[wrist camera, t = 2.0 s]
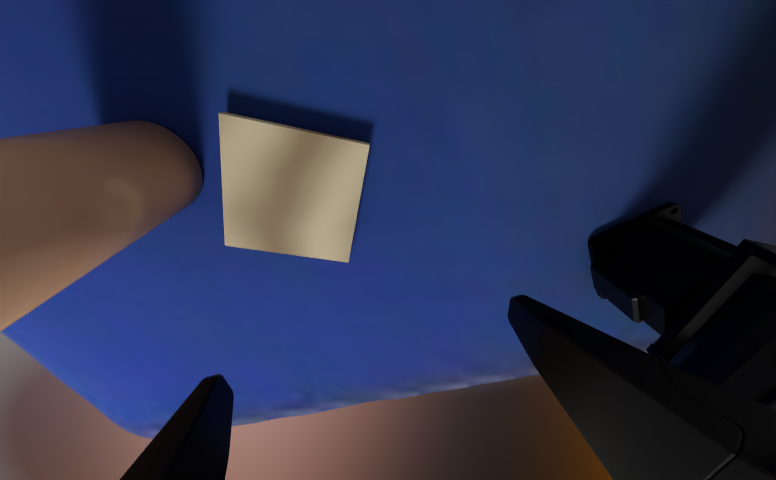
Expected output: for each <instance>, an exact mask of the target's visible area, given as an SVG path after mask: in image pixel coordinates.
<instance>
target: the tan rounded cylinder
mask: <svg viewBox="0 0 776 480" xmlns="http://www.w3.org/2000/svg"><path fill="white" fill-rule="evenodd" d="M202 183H203V177H202V171H201V167H200V164H199V162H198V160H197V158H196V156H195V154H194V153H193V151H192V150H191V149H190V148H189V146H188V145H187V144H186V143H185V142H184V141H183V140H182V139H181V138H179V137H178V136H177V135H176V134H174V133H173V132H171V131H170V130H168V129H166V128H164V127H162V126H160V125H157V124H154V123H151V122H147V121H139V120H135V121H125V122H117V123H110V124H103V125H95V126H88V127H81V128H73V129H66V130H59V131H51V132H44V133H36V134H29V135H22V136H14V137H7V138H0V331H2V330H3V329H5V328H6V327H8V326H9V325H11V324H12V323H14V322H15V321H17V320H18V319H20V318H21V317H23V316H24V315H26V314H27V313H29V312H30V311H32V310H33V309H35V308H36V307H38V306H39V305H40V304H42V303H43V302H45V301H46V300H48V299H49V298H51V297H52V296H54V295H55V294H57V293H58V292H60V291H61V290H63V289H64V288H66V287H67V286H69V285H70V284H72V283H73V282H75V281H76V280H78V279H79V278H81V277H82V276H84V275H85V274H87V273H88V272H90V271H91V270H93V269H94V268H96V267H97V266H99V265H100V264H102V263H103V262H105V261H106V260H108V259H109V258H111V257H112V256H114V255H115V254H117V253H118V252H120V251H121V250H123V249H124V248H126V247H127V246H129V245H130V244H132V243H133V242H135V241H136V240H137V239H139V238H140V237H142V236H143V235H145V234H146V233H148V232H149V231H151V230H152V229H154V228H155V227H157V226H158V225H160V224H161V223H163V222H164V221H166V220H167V219H169V218H170V217H172V216H173V215H175V214H176V213H178V212H179V211H181V210H182V209H184V208H185V207H187V206H188V205H190V204H191V203H192V202H194V201H195V200H196V198H197V197H198V196H199V194H200V192H201V188H202Z"/></svg>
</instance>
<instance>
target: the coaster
mask: <svg viewBox="0 0 776 480" xmlns="http://www.w3.org/2000/svg"><path fill="white" fill-rule="evenodd" d="M219 132H220V153H221V174H222V194H223V215H224V236H225V246H232V247H239V248H247V249H254V250H261V251H268V252H276V253H283V254H290V255H297V256H304V257H312V258H319V259H326V260H333V261H341V262H349V256H350V251H351V245H352V240H353V234H354V229H355V223H356V218H357V212H358V207H359V201H360V196H361V190H362V185H363V179H364V174H365V168H366V163H367V157H368V152H369V146H370V144H369V143H367V142H363V141H358V140H353V139H349V138H344V137H339V136H334V135H330V134H325V133H320V132H316V131H311V130H306V129H302V128H297V127H292V126H288V125H283V124H278V123H274V122H269V121H264V120H260V119H255V118H250V117H246V116H241V115H236V114H232V113H227V112H223V113H219Z"/></svg>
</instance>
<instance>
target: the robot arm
mask: <svg viewBox="0 0 776 480" xmlns="http://www.w3.org/2000/svg"><path fill="white" fill-rule="evenodd" d="M681 218H682V208H681V205H679V204H676V203H668V204H666V205H664V206H662V207H660V208H657V209H655V210H653V211H651V212H648V213H646V214H644V215H642V216H639V217H637V218H635V219H633V220H630V221H628V222H626V223H624V224H622V225H619V226H617V227H615V228H613V229H610V230H608V231H606V232H604V233H601V234H599V235H597V236H595V237H593V238H591V239H590V240H589V242H588V248H589V254H590V259H591V267H590V268H591V274H592V279H593V284H594V288H595V289H596V290H597V294H598V296H599V297H601V298H602V299H608V300H609V301H610V302H611V303H613V304H614V305H615V306H616V307H617V308H618V309H620V310H621V311H622V312H623V313H624V314H625V315H627V316H628V317H629V318H630V319H631V320H633V321H634V322H637V323H640V322H643V321H644V322H645V323H646V324H648V325H649V326H650V327H651V328H653V329H654V330H655V331H656V332H657V333H659V334H660V335H661V336H660V337H659V338H658V339H657V341H656V342H655V343H654V344H651V345H650V346H649V347H648V348H647V349H646V350H647V352H648V353H649V354H648V353H646V352H644V351H642V350H640V349H637V348H635V347H633V346H631V345H629V344H627V343H625V342H623V341H621V340H618V339H616V338H614V337H612V336H610V335H608V334H606V333H604V332H602V331H600V330H597V329H595V328H593V327H591V326H589V325H587V324H585V323H583V322H581V321H578V320H576V319H574V318H572V317H570V316H568V315H566V314H564V313H562V312H559V311H557V310H555V309H553V308H551V307H549V306H547V305H545V304H543V303H541V302H538V301H536V300H534V299H532V298H530V297H528V296H526V295H518V296H515V297H512V298H511V299H510V304H509V310H508V319H509V322H510V324H511V326H512V327H513V329H514V331H515V333H516V335H517V336H518V338H519V340H520V342H521V344H522V345H523V347H524V349H525V351H526V353H527V354H528V356H529V358H530V360H531V361H532V363H533V365H534V366H535V368H536V369H537V371H538V372H539V374H540V375H541V376H542V378H543V379H544V381H545V382H546V384H547V385H548V387H549V388H550V389H551V391H552V392H553V394H554V395H555V397H556V398H557V400H558V401H559V402H560V404H561V405H562V407H563V408H564V410H565V411H566V412H567V414H568V415H569V417H570V418H571V420H572V421H573V422H574V424H575V425H576V427H577V428H578V430H579V431H580V432H581V434H582V436H583V437H584V438H585V440H586V441H587V443H588V444H589V446H590V447H591V448H592V450H593V451H594V453H595V454H596V456H597V457H598V458H599V460H600V461H601V463H602V464H603V466H604V467H605V469H606V470H607V471H608V473H609V474H610V476H611V477H612V479H613V480H776V245H772V244H767V243H762V242H757V241H752V240H748V239H743V241H742V242H741V243H740V244H739V245H738V246H735V245H733V244H730V243H728V242H726V241H723V240H721V239H718V238H716V237H714V236H711V235H709V234H706V233H704V232H702V231H699V230H697V229H694V228H692V227H690V226H687V225H685V224H682V223H681ZM596 243H597V244H596ZM233 400H234V396H233V391H232V389H231V387H230V386H229V385H228V383H227V382H226V380H225V379H224V377H223V376H222V375H220V374H217V375H213V376H209V377H206V378H204V379H203V380H202V381H201V382H200V383H199V384H198V386H197V387H196V388H195V389H194V390H193V392H192V393H191V394H190V395H189V397H188V398H187V399H186V400H185V401H184V403H183V404H182V405H181V406H180V407H179V409H178V410H177V411H176V412H175V413H174V415H173V416H172V417H171V418H170V419H169V421H168V422H167V423H166V424H165V425H164V427H163V428H162V429H161V430H160V432H159V433H158V434H157V435H156V436H155V438H154V439H153V440H152V441H151V442H150V444H149V445H148V446H147V447H146V448H145V450H144V451H143V452H142V453H141V454H140V456H139V457H138V458H137V459H136V461H135V462H134V463H133V464H132V465H131V467H130V468H129V469H128V470H127V471H126V473H125V474H124V475H123V476H122V478H121V479H120V480H225V475H226V470H227V464H228V458H229V448H230V437H231V425H232V412H233Z"/></svg>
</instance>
